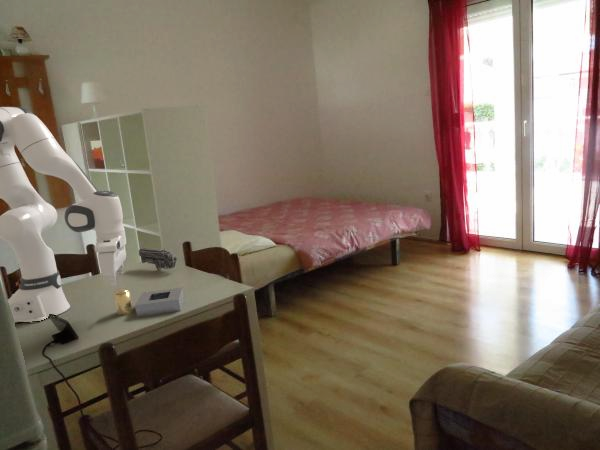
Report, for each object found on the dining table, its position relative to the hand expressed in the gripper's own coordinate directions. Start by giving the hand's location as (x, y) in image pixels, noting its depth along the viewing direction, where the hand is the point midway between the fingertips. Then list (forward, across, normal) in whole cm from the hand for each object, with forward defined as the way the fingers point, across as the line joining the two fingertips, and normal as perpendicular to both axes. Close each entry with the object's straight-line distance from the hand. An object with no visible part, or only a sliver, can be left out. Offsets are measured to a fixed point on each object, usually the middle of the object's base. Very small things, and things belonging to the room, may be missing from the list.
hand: (117, 280), depth 158 cm
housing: (+12, +1, +13) cm, 18 cm away
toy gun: (+13, -49, +6) cm, 51 cm away
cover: (+12, +1, +1) cm, 12 cm away
